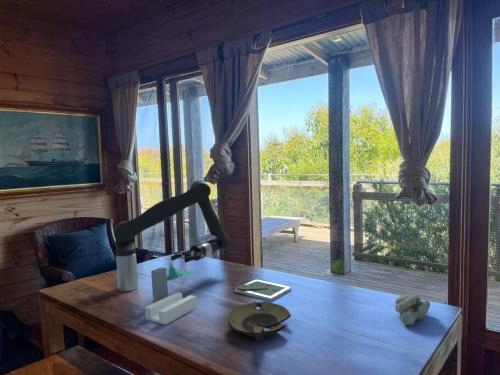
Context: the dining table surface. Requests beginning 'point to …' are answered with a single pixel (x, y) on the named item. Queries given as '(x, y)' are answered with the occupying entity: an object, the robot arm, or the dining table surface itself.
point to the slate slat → (159, 284)
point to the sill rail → (170, 308)
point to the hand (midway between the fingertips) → (178, 259)
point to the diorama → (177, 273)
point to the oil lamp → (258, 319)
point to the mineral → (411, 308)
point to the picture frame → (263, 290)
